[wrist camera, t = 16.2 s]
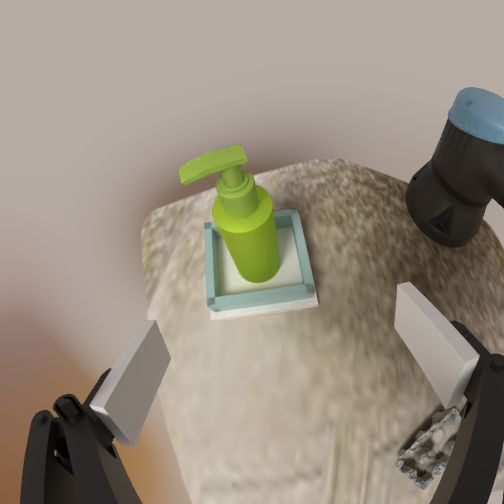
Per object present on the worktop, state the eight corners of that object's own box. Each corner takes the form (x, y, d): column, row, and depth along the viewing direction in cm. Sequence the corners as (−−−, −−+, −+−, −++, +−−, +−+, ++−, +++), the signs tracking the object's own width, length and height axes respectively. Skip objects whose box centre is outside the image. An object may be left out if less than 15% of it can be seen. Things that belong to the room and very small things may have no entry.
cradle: (299, 218, 41) (299, 201, 38) (317, 306, 35) (320, 297, 31) (208, 232, 43) (201, 218, 39) (213, 321, 36) (203, 314, 32)
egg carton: (442, 401, 26) (457, 402, 22) (464, 431, 23) (479, 434, 19) (386, 457, 24) (396, 464, 21) (411, 486, 21) (423, 494, 17)
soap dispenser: (225, 255, 39) (173, 149, 21) (271, 238, 39) (251, 123, 22) (236, 292, 36) (182, 198, 19) (286, 274, 36) (276, 166, 19)
